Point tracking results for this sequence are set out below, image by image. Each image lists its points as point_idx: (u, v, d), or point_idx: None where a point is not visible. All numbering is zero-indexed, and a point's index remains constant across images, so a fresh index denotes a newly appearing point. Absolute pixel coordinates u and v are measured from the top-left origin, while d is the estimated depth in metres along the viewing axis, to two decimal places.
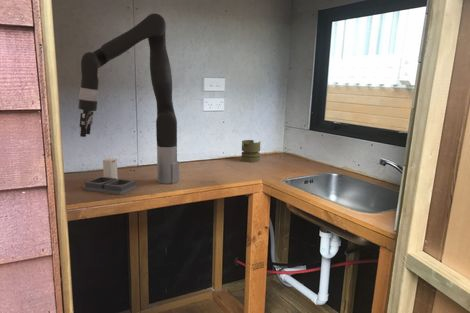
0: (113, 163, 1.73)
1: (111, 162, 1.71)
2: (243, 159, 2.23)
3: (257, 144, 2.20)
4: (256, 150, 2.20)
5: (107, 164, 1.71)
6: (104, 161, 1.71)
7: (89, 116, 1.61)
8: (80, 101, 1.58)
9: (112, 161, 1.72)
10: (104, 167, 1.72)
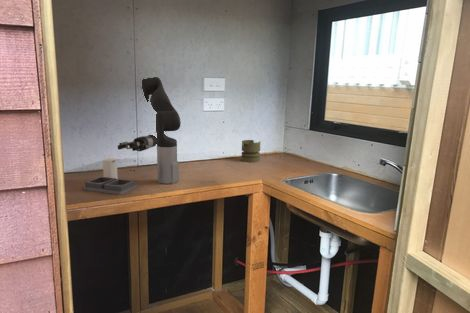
0: (113, 163, 1.73)
1: (111, 162, 1.71)
2: (243, 159, 2.23)
3: (257, 144, 2.20)
4: (256, 150, 2.20)
5: (107, 164, 1.71)
6: (104, 161, 1.71)
7: (132, 142, 1.93)
8: None
9: (112, 161, 1.72)
10: (104, 167, 1.72)
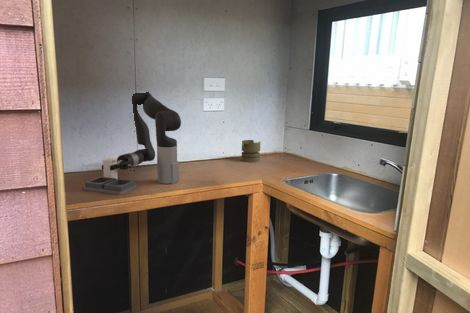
0: (113, 163, 1.73)
1: (111, 162, 1.71)
2: (243, 159, 2.23)
3: (257, 144, 2.20)
4: (256, 150, 2.20)
5: (107, 164, 1.71)
6: (104, 161, 1.71)
7: None
8: None
9: (112, 161, 1.72)
10: (104, 167, 1.72)
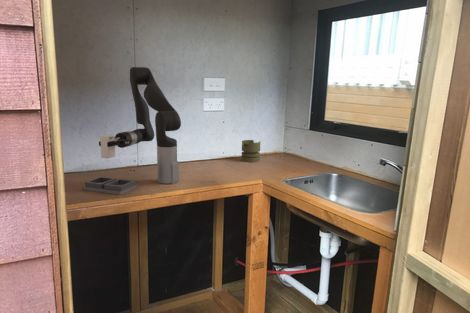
0: (110, 140, 1.69)
1: (108, 138, 1.67)
2: (243, 159, 2.23)
3: (257, 144, 2.20)
4: (256, 150, 2.20)
5: (104, 140, 1.67)
6: (102, 138, 1.67)
7: None
8: None
9: (110, 137, 1.68)
10: (101, 144, 1.68)
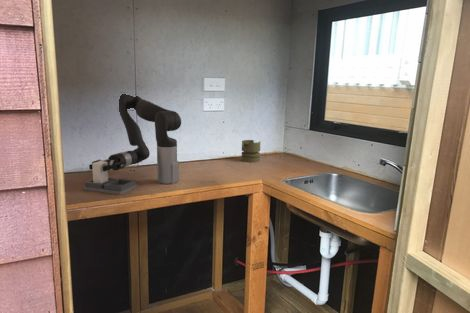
0: None
1: (101, 165, 1.59)
2: (243, 159, 2.23)
3: (257, 144, 2.20)
4: (256, 150, 2.20)
5: (97, 168, 1.59)
6: (94, 165, 1.59)
7: (106, 160, 1.68)
8: None
9: (102, 164, 1.59)
10: (94, 171, 1.59)
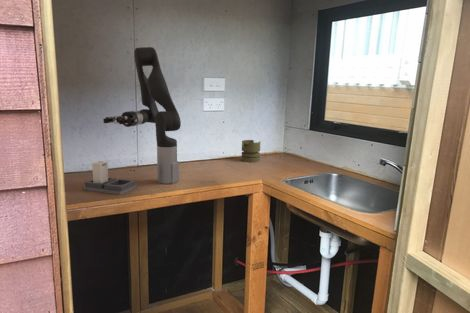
0: (103, 167, 1.60)
1: (101, 165, 1.59)
2: (243, 159, 2.23)
3: (257, 144, 2.20)
4: (256, 150, 2.20)
5: (97, 168, 1.59)
6: (94, 165, 1.59)
7: None
8: None
9: (102, 164, 1.59)
10: (93, 171, 1.59)
